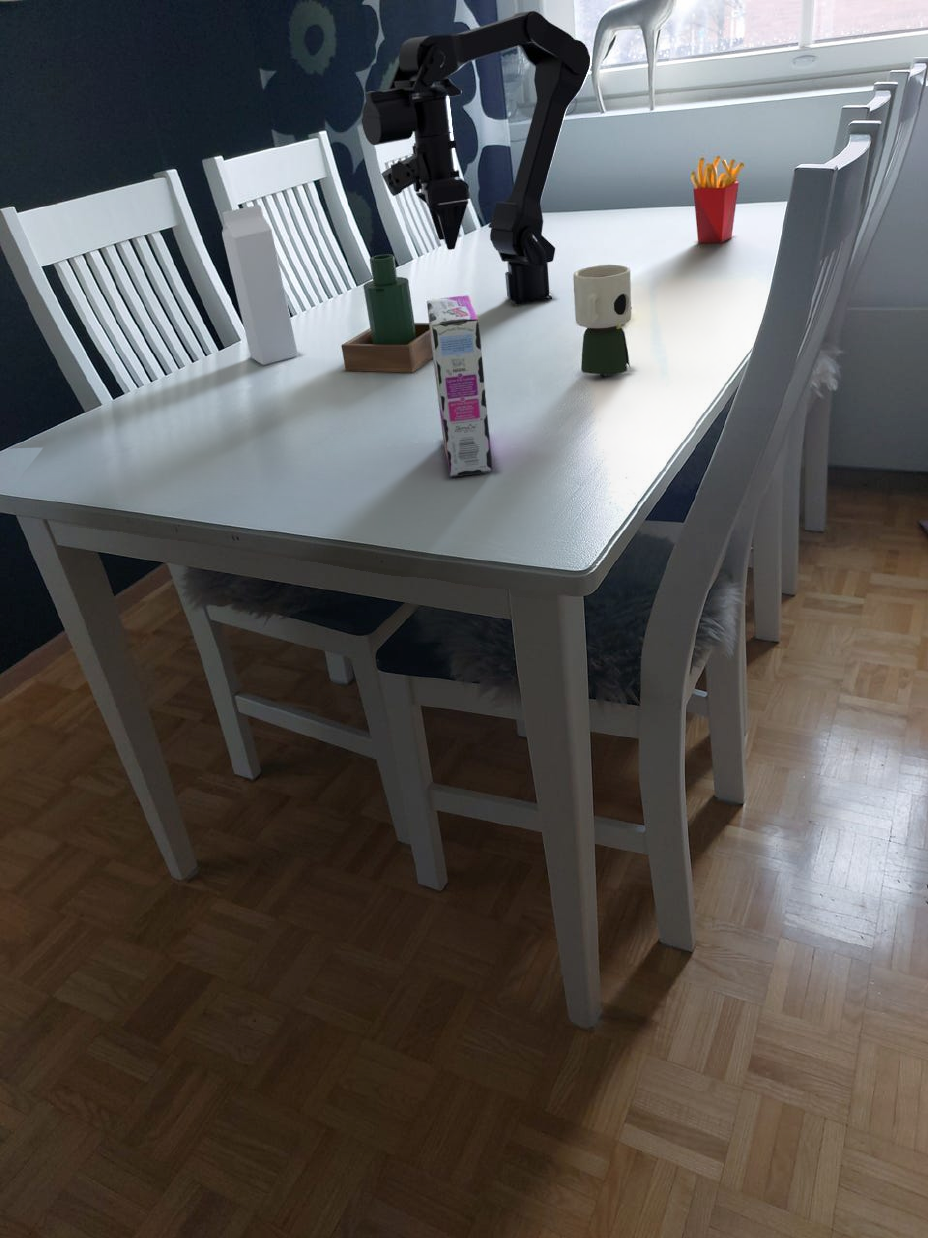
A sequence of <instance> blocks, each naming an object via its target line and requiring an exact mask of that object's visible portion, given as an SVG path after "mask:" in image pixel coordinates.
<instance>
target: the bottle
mask: <svg viewBox="0 0 928 1238" xmlns="http://www.w3.org/2000/svg"><path fill="white" fill-rule="evenodd" d="M369 265H370V271H371V277H372V280H369V281H368V282H366V283H364V284H363V285H362V287H363V293H364V297H365V304H366V311H367V316H368V322H369V328H370V329H371V335H372V341H373V344H383V345H407V344H409V343H410V342H412V341H413V340H415V339H416V331H415V324H414V323H415V318H414V312H413V311H414V310H413V304H412V298H411V290H410V281H409V279H408V277H403V276H398V272H397V267H396V266H397V265H396V259H395V255H394V254H388V253H387V254H379V255H375V256H372V257H370V258H369Z"/></svg>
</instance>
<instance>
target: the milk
mask: <svg viewBox="0 0 928 1238" xmlns="http://www.w3.org/2000/svg"><path fill="white" fill-rule="evenodd" d="M222 219H223V223H224V225H223V228H222V230H221V235H222V240H223V243H224V244H223V245H224V249H225V253H226V256H227V262H228V265H229V269H230V274H231V279H232V282H233V287H234V290H235V291H234V292H235V295H236V300H237V304H238V309H239V313H240V316H241V321H242V325H243V329H244V333H245V334H244V335H245V337H246V341H247V346H248V350H249V354H250V358H251V359H253V360H254V361H256V362H258V363H259V364H261V365H262V366H265V365H269V364H273V363H277V362H280V361H285V360H288V359H290V358H291V359H293V358H296V357H299V352H298V348H297V347H298V346H297V343H296V337H295V332H294V329H293V328H294V327H293V324H292V319H291V315H290V310H289V305H288V299H287V294H286V290H285V285H284V280H283V276H282V271H281V267H280V261H279V257H278V251H277V247H276V243H275V238H274V237H275V236H274V233H273V229H272V227H271V225H270V224H269V223H268V221H267V219H266V217H264V213H263V208H262V205H260V204H256V205H252V206H247V207H241V208H236V209H232V210H226V211H223V212H222Z"/></svg>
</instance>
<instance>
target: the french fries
mask: <svg viewBox="0 0 928 1238" xmlns="http://www.w3.org/2000/svg"><path fill="white" fill-rule="evenodd" d="M721 159H722V157H721V156H720V155H717V156H715V159H714V160H713V162H711V163H710V162H709V163H706V164H705V157H701V158H699V159H698V164H697V169H696V171H692V172H691V175H690V179H691V182H692V184H693V185H694V188H693V189H692V190H693V201H694V211H695V212H694V213H695V222H696V234H697V243H708V244H713V243H715V244H716V243H717V244H722V243H724V242H726V241H727V240H729V239H731V238H732V236H733V228H734V222H735V215H736V208H737V207H736V206H737V198H738V193H739V184H740V181H737V179H738V176H739V174H740V173H741V171H742V169H743V168H744V167H745V163H744V162H739V163H738V164H737V166H736V167H734V165H735V164H736V159H734V158H733V159H731V160H730V162H729V163H728V164H727V161H726V159H723V160H721ZM720 162H721V163H722V165H723V167H724V171H725V172H722V173H720V174H719V175H718V166H719V163H720ZM704 164H705V167H704ZM696 173H697V174H696Z"/></svg>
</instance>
